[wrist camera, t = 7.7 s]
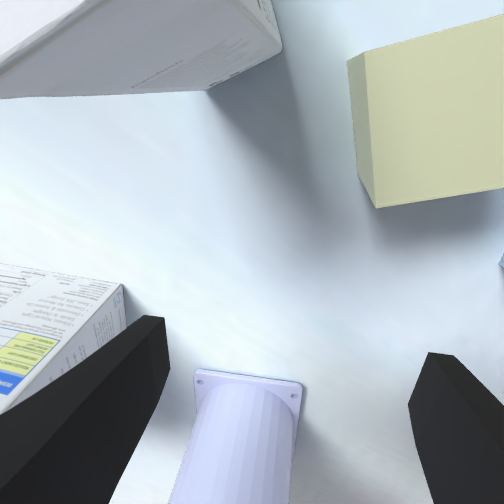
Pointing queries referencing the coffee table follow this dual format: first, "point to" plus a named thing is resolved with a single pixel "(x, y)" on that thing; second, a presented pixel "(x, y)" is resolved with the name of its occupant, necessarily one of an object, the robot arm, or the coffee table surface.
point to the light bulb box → (51, 327)
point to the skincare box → (130, 45)
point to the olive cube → (430, 114)
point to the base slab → (502, 261)
